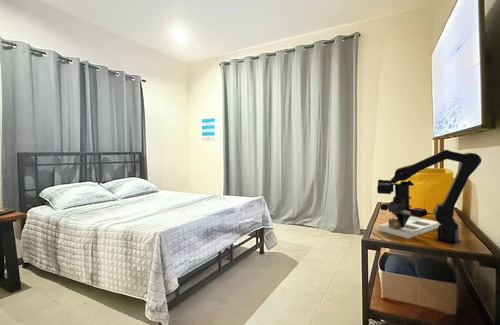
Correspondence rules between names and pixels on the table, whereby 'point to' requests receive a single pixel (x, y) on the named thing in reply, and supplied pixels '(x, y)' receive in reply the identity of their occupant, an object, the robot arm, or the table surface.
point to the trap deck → (411, 227)
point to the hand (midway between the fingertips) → (402, 227)
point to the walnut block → (394, 224)
